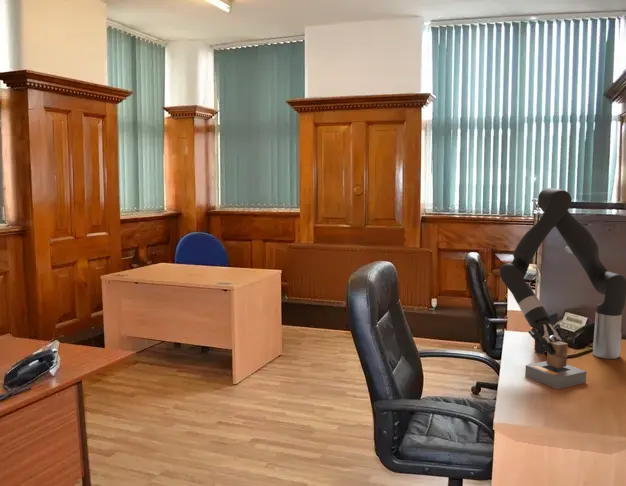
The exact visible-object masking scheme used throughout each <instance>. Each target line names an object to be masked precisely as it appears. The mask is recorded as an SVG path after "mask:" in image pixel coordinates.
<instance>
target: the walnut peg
mask: <svg viewBox="0 0 626 486" xmlns="http://www.w3.org/2000/svg"><path fill="white" fill-rule="evenodd" d="M550 343H551V344H552V346H553V348H554V349H555V351H556V353H555V354H553V355H550V353H549V352H548V351H546V353H547V354H546V361H547V364H548V365H551V366H553V367H556V368H559V367H564V366H566V364H567V359H568V356H567V355H568V348H569V347H568V346H569V343H567V342H564V341H562V342H561V341H558V340H557V339H556V341H550Z"/></svg>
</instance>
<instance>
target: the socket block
mask: <svg viewBox="0 0 626 486" xmlns="http://www.w3.org/2000/svg"><path fill="white" fill-rule="evenodd" d="M524 371H525V372H524V373H525V374H524V376H525V377H527V378H529V379H531V380H534V381H537V382H539V383H541V384H544V385H546V386H548V387H552V388H554V389H556V390H559V389H563V388H567V387H572V386H577V385H581V384H586V383H587V370H583V369H581V368H578V367H574V366H572V365H570V364H567V363H566V366H564V367H559V368H556V367H553V366H551V365H548V364H547V360H546V361H541V362H536V363H530V364H529V363H528V364H526V365H525V370H524Z"/></svg>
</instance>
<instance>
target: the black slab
mask: <svg viewBox="0 0 626 486" xmlns="http://www.w3.org/2000/svg"><path fill="white" fill-rule="evenodd" d="M546 312H547V313H548V315H549V317H550V318H549V321H550V322H551V323H552V324H553V325H557V321H558V312H555V311H546ZM553 335H554V333H553V334H552V335H551V336H553ZM554 338H555V339H556V337H554ZM538 339H539V338H538ZM539 341H540V339H539ZM549 341H553V340H551V339H549ZM533 350H534V352H535V353H538V354H544V353H546V352H548V351H547V349H546V347H545V346H543V345H539V344H538V343H537V342H536V341H535V340H534V349H533ZM545 351H546V352H545Z"/></svg>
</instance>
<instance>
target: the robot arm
mask: <svg viewBox="0 0 626 486" xmlns="http://www.w3.org/2000/svg"><path fill="white" fill-rule="evenodd" d="M537 203H538V206H539V208H540V210H542V211H543V214H542V215H541V217H540V219H539V220H538V221H537V222H536V223H535V224H534V225H533V226H532V227H531V228H530V229H528V230H527V232H526V233H524V235H523V236H522V237H521V239H520V241H519V242H518V244H517V246H516V247H515V249H514V250H513V252H512V255H513V260H512V262H506V263H504V264H502V266H500V268H499V273H498V274H499V277H500V279H501V281H502V283H504V285H505V286H506V287H507V288H508V291H510V293H511V294H512V296H513V299H514V300H515V301H516V304H517V305H518V307H519V310H520V312H521V313H522V315H523V317H524V318H525V320H526V321H527V324H528V325H529V327H530V328H531V329H529V331H528V334H529V336H531V337H532V339H534V342H535V341H536V342H537V343H538V344H539V345H543V346H545V347H546V349H547V351H546V352H549V353H550V355H553V354H555V353H556V351H555V349H554V348H553V346H552V344H551V343H550V341H549V339H551V340H553V341H556V340H558V341H561V342H563V340H564V339H565V336H564V333H563V331H562V327H561V325H560V324H559V323H556V324H555V325H553V324H552V323H551V322H550V321H549V318H550V317H549V315H548V313H547V312H548V311H547V309H545V307H544V305H543V303H542V302H541V300H540V298H538V297H537V295H536V293H535V292H534V290H533V288H531V286H530V285H529V284H528V283H527V282H526V281H525V278H526V274H527V272H528V271H529V270H528V269H529V267H530V263H531V261H532V259H533V258H534V257H535V255H536V253H537V251H538V249H539V248H540V246H542V243H543V242H544V240H545V239H546V238H547V236H548V235H549V233H551V231H552V230H553V229H554V227H556V229H557V231H558V233H559V234H560V235H561V237H562V238H563V241H565V243H566V245H567V246H568V248H569V249H570V251H571V252H572V254H573V255H574V256H575V258H576V259H577V261H578V262H579V264H580V265H581V267H582V269H583V270H584V271H585V273H586V275H587V276H588V278H589V281H590V283H591V285H592V286H593V288H594V289H595V291H596V292H598V293H599V294H601V295H604V300H603V301H602V303H598V304H597V305H596V307H595V319H594V331H593V332H594V333H593V345H592V355H594V357H597V358H601V359H606V360H607V359H608V360H615V359H618V358H619V357H620V356H621V348H622V347H621V346H622V345H621V344H622V337H623V336H622V335H623V334H622V332H621V330H622V317H623V315H622V314H623V310H624V308H625V306H626V277H625V276H624V275H622V274H619V273H616V272H612V271H609V270H608V269H607V268H606V267H605V265H604V264H603V262H602V261H601V258H600V253H599V252H600V251H599V249H600V248H599V245H598V243H597V241H596V239H595V238H594V237H593V235H592V233H591V232H590V230H588V229H587V227H586V226H585V225H584V224H583V223H582V222H580V221H579V220H578V219H577V218H576V217H574V216H573V215H572V214H571V212H570V211H569V210H570V207H571V205H572V197H571V194H570V193H569V192H568V191H566V190H564V189H560V188H554V187H548V188H544V189H542V190H541V191H540V192H539V194H538V198H537ZM553 333H554V335H553V336H551V335H552V334H553ZM554 337H555V338H554ZM538 338H539V339H540V341H539V339H538Z"/></svg>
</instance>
